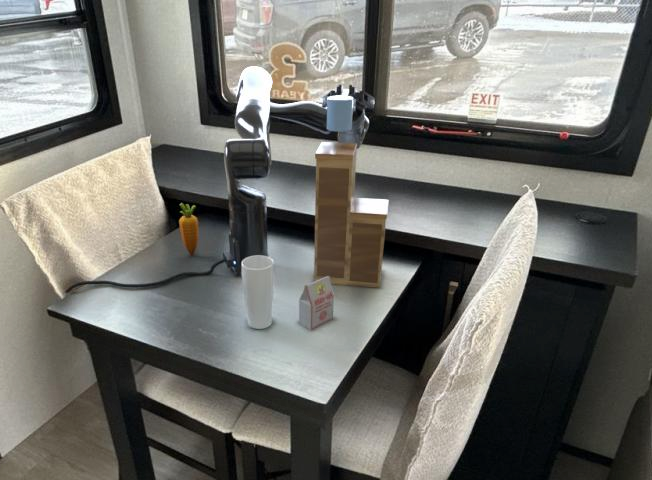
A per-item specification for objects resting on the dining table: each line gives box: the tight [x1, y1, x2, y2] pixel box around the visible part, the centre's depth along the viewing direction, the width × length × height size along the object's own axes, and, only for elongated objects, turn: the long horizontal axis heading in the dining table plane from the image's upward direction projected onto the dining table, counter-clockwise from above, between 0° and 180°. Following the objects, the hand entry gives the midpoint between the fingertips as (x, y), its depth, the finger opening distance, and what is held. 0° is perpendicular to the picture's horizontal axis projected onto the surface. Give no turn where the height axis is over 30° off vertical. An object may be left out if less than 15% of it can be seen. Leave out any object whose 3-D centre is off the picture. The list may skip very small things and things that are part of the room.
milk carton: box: [298, 276, 335, 331], centre depth 118 cm, size 4×7×10 cm, turn 129°
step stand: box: [313, 141, 390, 289], centre depth 130 cm, size 10×16×32 cm, turn 77°
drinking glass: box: [241, 255, 275, 330], centre depth 116 cm, size 7×7×15 cm
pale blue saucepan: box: [326, 88, 353, 133], centre depth 126 cm, size 18×6×7 cm, turn 167°
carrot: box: [178, 202, 199, 257], centre depth 146 cm, size 5×5×15 cm
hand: (345, 88), depth 127 cm, fingers closed on pale blue saucepan
